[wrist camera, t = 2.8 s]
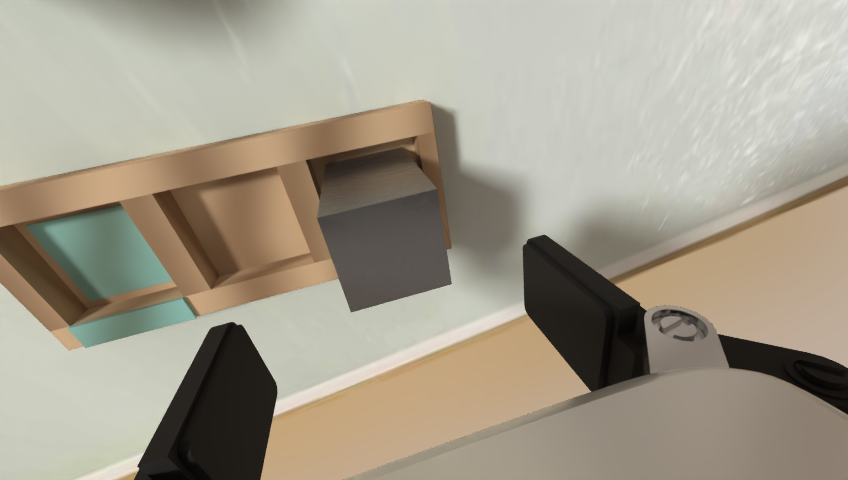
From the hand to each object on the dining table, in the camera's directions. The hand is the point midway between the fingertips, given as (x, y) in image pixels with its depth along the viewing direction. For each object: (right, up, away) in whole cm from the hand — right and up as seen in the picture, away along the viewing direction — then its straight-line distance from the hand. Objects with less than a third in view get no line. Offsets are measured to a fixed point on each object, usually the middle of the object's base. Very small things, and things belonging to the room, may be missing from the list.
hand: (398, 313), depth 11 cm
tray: (-10, +4, +9) cm, 13 cm away
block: (-2, +5, +9) cm, 11 cm away
